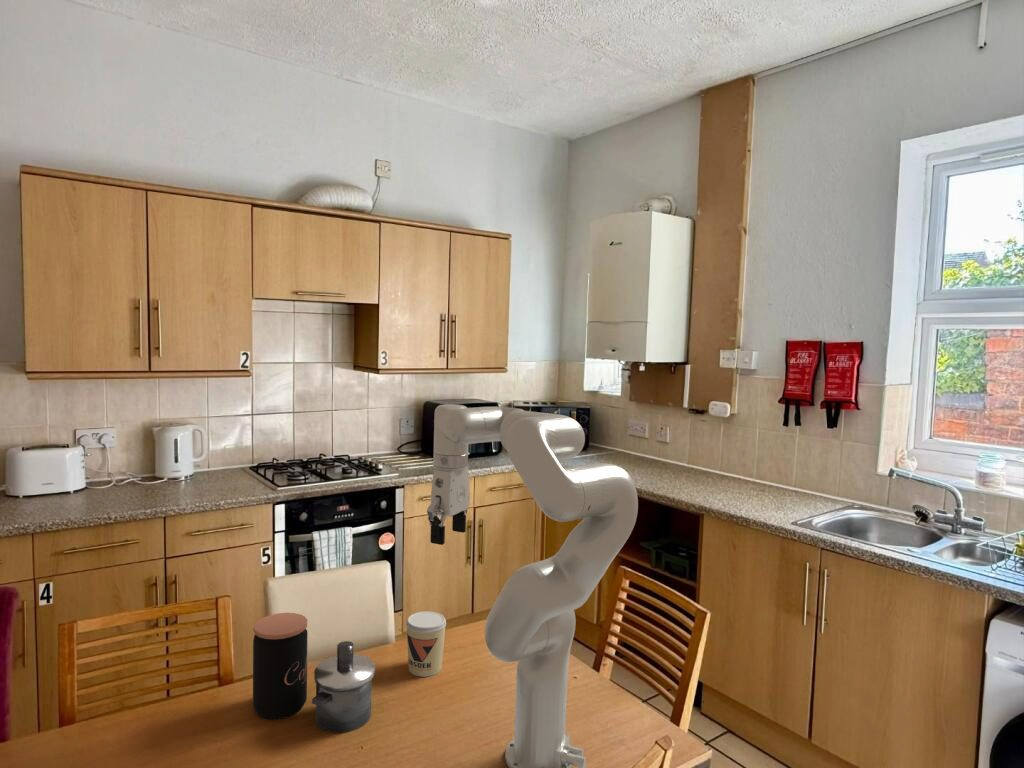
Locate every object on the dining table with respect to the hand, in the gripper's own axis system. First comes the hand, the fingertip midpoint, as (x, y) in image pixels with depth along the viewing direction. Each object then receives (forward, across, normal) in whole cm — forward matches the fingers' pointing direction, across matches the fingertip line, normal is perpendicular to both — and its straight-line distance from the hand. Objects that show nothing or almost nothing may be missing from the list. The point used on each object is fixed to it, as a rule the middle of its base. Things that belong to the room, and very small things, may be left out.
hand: (448, 537), depth 141 cm
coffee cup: (+34, +5, +8) cm, 36 cm away
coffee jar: (+34, -22, +27) cm, 49 cm away
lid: (+25, -19, +13) cm, 34 cm away
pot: (+34, -19, +13) cm, 41 cm away
